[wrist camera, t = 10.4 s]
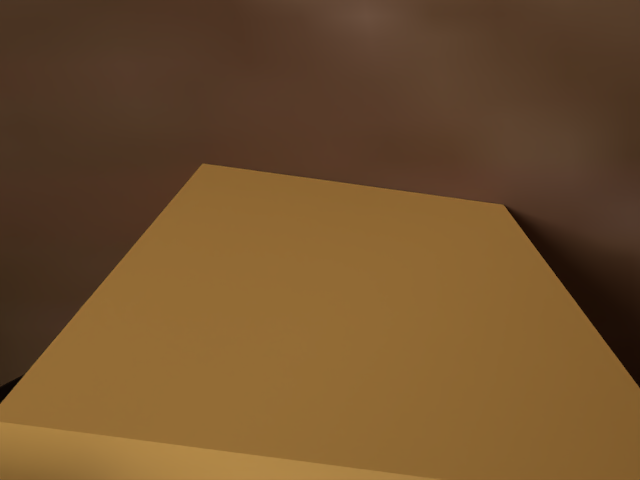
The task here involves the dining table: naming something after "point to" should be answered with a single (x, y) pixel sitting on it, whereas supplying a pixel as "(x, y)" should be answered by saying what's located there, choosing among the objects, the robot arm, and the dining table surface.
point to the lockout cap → (325, 349)
